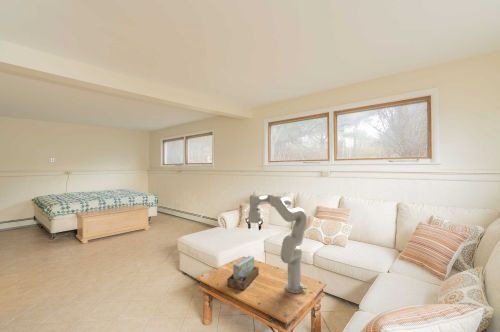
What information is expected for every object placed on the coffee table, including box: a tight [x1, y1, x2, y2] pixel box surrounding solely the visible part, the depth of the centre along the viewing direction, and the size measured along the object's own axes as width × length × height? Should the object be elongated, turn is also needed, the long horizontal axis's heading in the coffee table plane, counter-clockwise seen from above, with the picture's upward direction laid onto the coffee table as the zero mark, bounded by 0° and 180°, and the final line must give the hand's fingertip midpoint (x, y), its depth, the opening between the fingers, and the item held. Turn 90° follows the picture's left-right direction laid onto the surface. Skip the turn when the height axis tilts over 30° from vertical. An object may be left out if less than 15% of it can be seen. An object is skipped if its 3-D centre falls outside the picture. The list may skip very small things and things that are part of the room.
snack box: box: [232, 255, 255, 282], centre depth 186 cm, size 21×6×15 cm, turn 144°
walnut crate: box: [227, 266, 260, 292], centre depth 186 cm, size 14×27×6 cm, turn 154°
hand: (254, 229), depth 201 cm, fingers open, 9 cm apart
